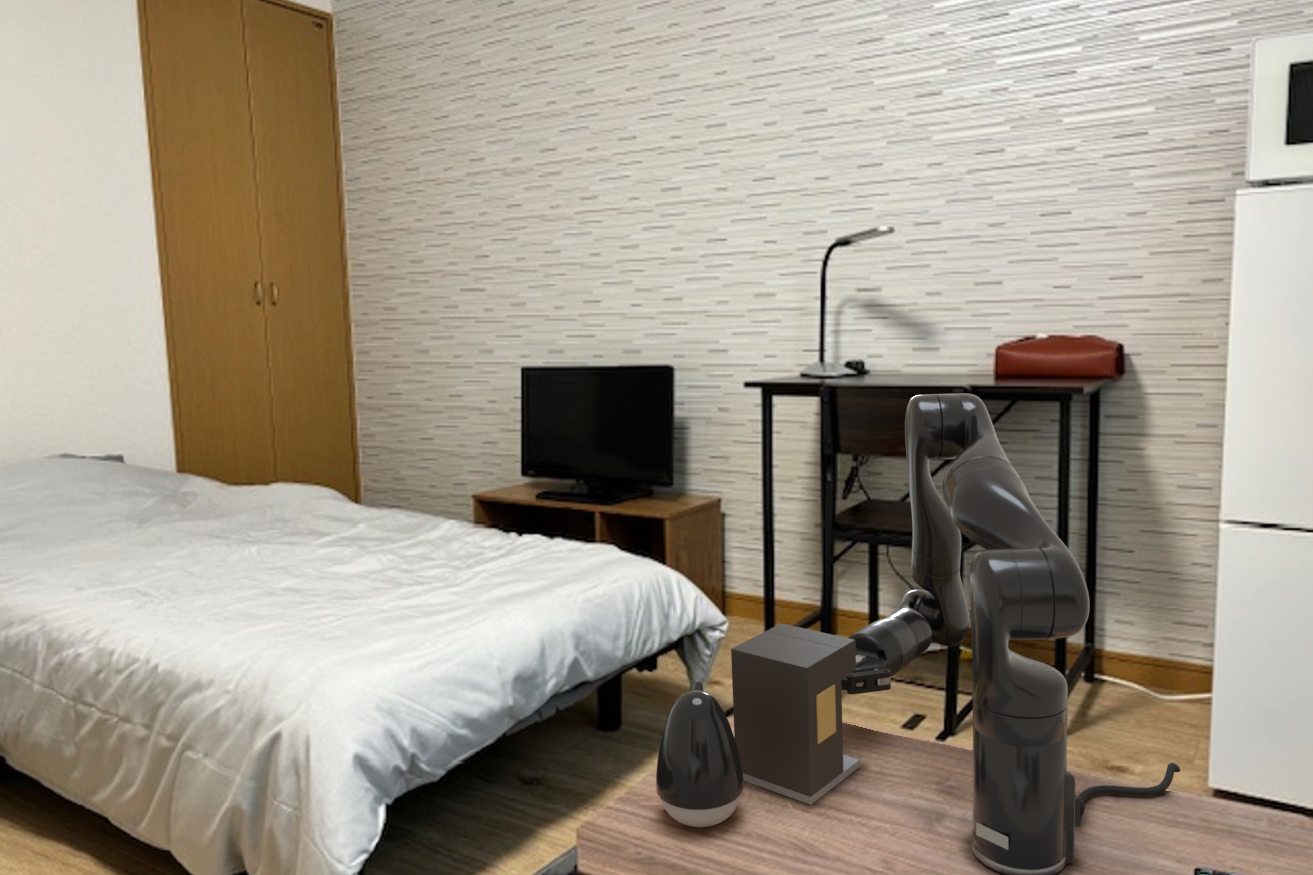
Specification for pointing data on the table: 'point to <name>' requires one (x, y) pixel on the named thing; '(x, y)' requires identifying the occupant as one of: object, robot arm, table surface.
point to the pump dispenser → (698, 762)
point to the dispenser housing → (792, 710)
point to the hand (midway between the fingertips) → (813, 692)
